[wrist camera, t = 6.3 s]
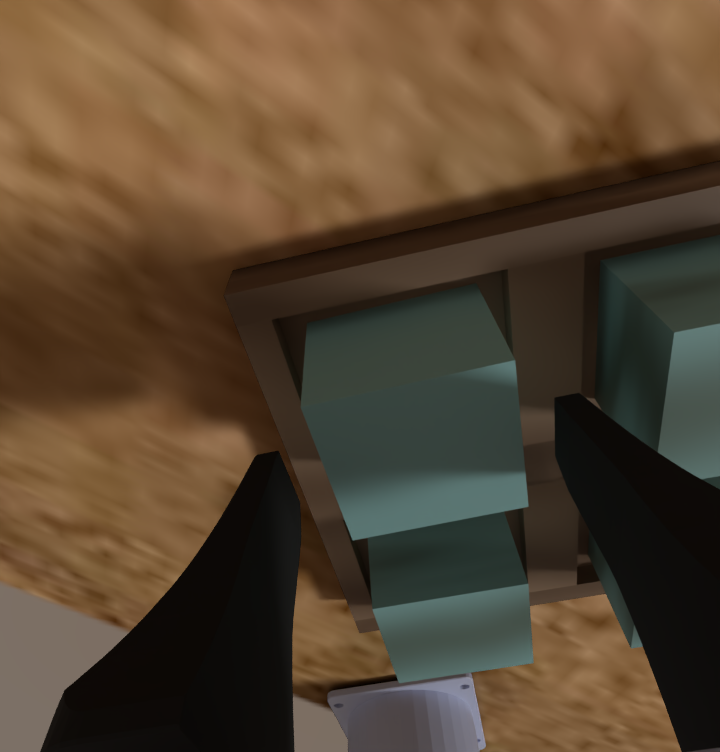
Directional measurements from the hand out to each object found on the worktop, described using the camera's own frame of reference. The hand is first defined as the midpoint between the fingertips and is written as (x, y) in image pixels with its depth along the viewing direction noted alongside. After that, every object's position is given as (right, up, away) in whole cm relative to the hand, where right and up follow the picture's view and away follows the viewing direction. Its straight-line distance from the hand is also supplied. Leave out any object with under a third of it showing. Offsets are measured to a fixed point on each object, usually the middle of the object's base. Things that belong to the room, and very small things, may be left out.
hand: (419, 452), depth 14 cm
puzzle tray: (+5, 0, +6) cm, 7 cm away
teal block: (0, +2, +3) cm, 4 cm away
